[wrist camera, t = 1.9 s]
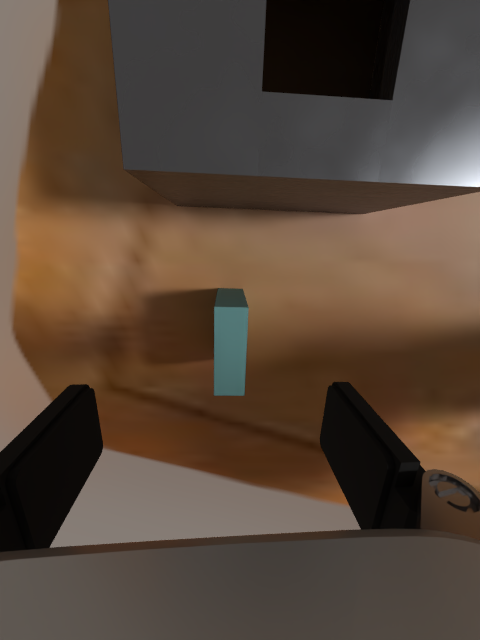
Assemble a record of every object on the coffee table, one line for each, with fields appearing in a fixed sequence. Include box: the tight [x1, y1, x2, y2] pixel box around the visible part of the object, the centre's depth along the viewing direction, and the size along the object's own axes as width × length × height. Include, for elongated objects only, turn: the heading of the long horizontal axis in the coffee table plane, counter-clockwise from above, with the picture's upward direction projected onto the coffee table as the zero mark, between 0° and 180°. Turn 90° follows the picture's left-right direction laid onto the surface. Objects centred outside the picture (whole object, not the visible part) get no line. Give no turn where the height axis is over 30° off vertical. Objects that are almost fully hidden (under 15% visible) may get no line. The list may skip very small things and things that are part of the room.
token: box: [214, 288, 248, 396], centre depth 19 cm, size 2×6×6 cm, turn 178°
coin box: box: [108, 0, 480, 214], centre depth 12 cm, size 14×14×10 cm
